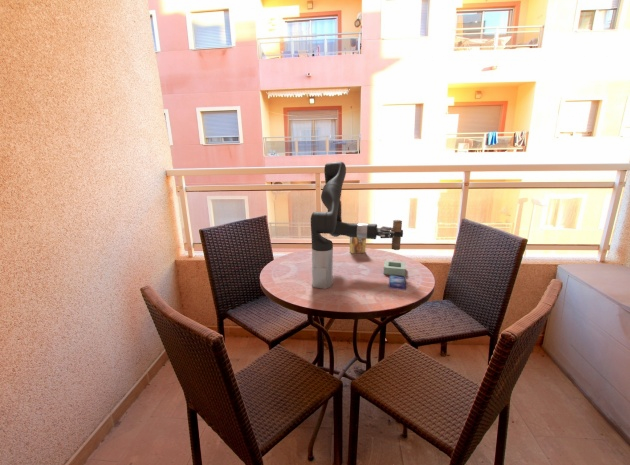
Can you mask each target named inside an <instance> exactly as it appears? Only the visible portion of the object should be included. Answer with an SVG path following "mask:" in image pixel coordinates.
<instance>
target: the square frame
mask: <svg viewBox="0 0 630 465" xmlns="http://www.w3.org/2000/svg"><path fill="white" fill-rule="evenodd" d="M391 274H392V275H401V276H405V277H406V262H405V261H397V260H384V264H383V275H391Z"/></svg>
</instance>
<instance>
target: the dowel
mask: <svg viewBox="0 0 630 465" xmlns="http://www.w3.org/2000/svg"><path fill="white" fill-rule="evenodd" d="M392 221H393V222H392V228H393V231H394V232H401V230H402V227H403V226H402V225H403V221H402V220H400V219H394V220H392ZM401 239H402V237H395V236H394V237H393V238H391V249H392V251H393V250H394V251H399V250H401V241H402V240H401Z"/></svg>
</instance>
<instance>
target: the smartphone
mask: <svg viewBox="0 0 630 465" xmlns="http://www.w3.org/2000/svg"><path fill="white" fill-rule="evenodd" d="M388 275H389V274H388ZM388 278H389V280H388V282H389V283H388V288H389V289H390V290H398V291H399V290H400V291H406V290H407V281H406V279H407V278H406V275H405V276H401V275H392V274H391V275H389V276H388Z"/></svg>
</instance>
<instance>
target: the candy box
mask: <svg viewBox="0 0 630 465" xmlns="http://www.w3.org/2000/svg"><path fill="white" fill-rule="evenodd" d="M366 242H367V239H364V238H357V237H349V253H351V254H361V253H366V250H367V249H366V248H367V245H366V244H367V243H366Z"/></svg>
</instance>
